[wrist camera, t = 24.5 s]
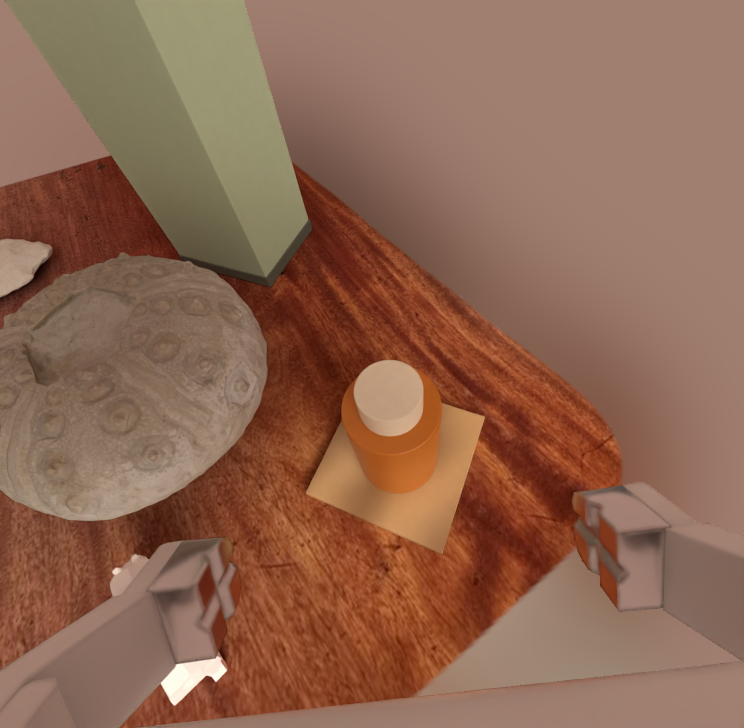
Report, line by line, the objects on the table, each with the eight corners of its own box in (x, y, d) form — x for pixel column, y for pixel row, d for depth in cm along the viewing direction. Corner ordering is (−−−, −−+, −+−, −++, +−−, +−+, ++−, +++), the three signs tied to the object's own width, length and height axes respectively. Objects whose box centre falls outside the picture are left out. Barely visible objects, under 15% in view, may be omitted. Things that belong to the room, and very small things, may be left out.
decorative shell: (95, 597, 23) (-91, 591, 15) (22, 403, 32) (-125, 328, 23) (330, 407, 28) (290, 322, 20) (214, 282, 36) (151, 183, 28)
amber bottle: (395, 511, 24) (383, 465, 16) (344, 452, 26) (312, 387, 18) (454, 456, 25) (467, 390, 17) (400, 405, 27) (392, 326, 20)
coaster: (307, 495, 25) (305, 493, 25) (363, 380, 29) (362, 376, 29) (442, 555, 23) (442, 553, 22) (483, 420, 27) (485, 416, 26)
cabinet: (183, 264, 39) (-195, -282, 15) (236, 205, 43) (4, -295, 19) (270, 288, 36) (-31, -349, 12) (317, 221, 40) (163, -347, 16)
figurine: (188, 713, 20) (165, 709, 16) (115, 586, 23) (84, 560, 20) (231, 669, 21) (218, 657, 18) (157, 555, 24) (134, 526, 21)
